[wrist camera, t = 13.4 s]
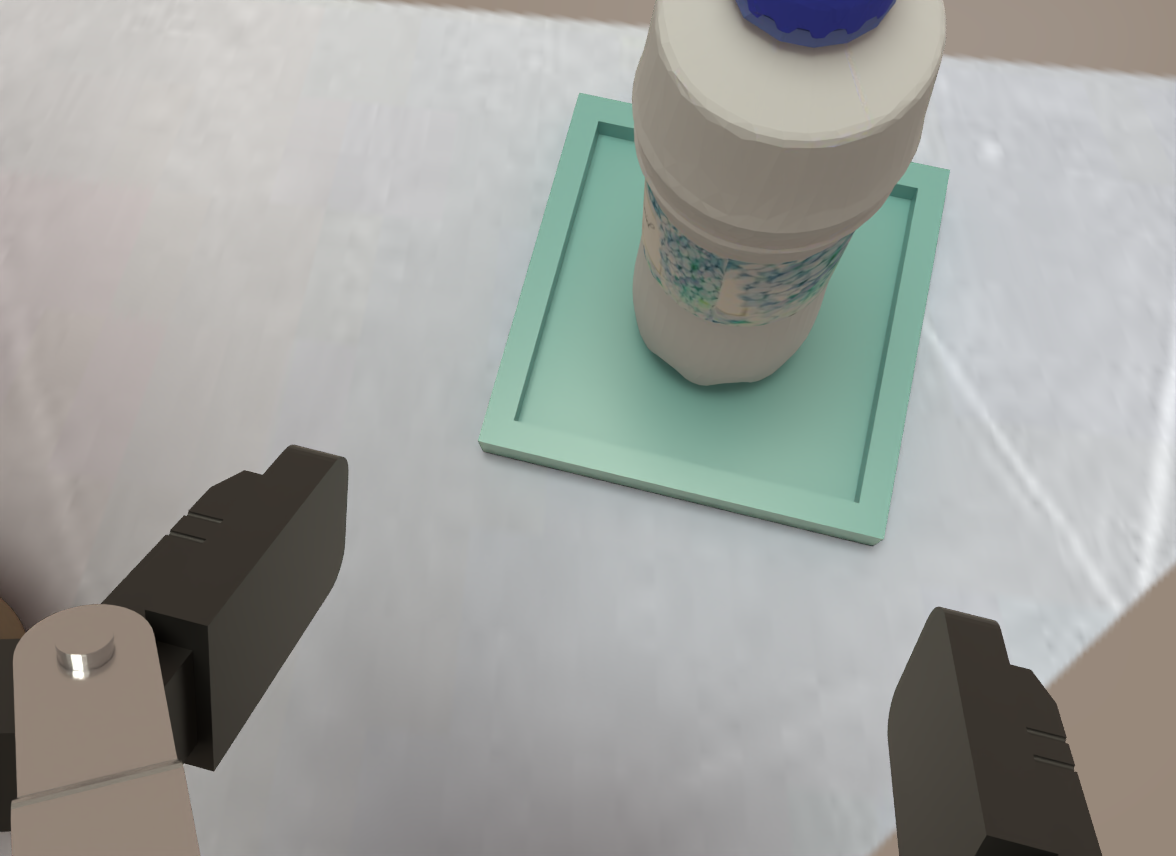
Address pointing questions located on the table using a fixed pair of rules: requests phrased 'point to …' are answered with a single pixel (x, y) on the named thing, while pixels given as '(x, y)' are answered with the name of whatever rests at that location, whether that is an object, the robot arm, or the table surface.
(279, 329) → the table surface
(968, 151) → the table surface
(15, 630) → the flower pot
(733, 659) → the table surface
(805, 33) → the bottle
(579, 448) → the tray
